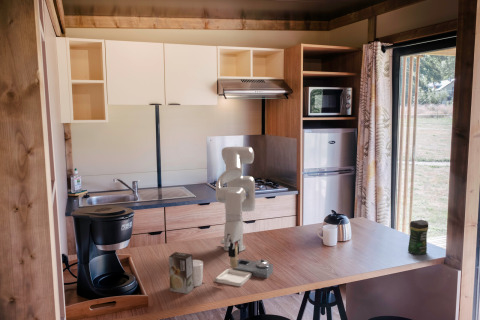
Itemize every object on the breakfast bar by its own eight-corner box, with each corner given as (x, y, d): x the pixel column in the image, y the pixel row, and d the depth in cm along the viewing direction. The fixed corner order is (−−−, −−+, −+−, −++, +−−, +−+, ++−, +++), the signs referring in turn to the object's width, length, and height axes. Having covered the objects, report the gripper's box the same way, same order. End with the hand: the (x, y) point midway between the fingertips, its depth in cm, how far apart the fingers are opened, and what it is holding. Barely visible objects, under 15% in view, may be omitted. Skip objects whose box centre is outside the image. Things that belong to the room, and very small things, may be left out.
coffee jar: (416, 256, 222) (418, 223, 220) (405, 251, 229) (407, 219, 227) (429, 253, 226) (431, 221, 224) (417, 249, 233) (419, 217, 231)
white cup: (186, 280, 191) (186, 260, 190) (203, 279, 192) (203, 259, 191) (185, 287, 184) (185, 266, 182) (203, 286, 184) (203, 265, 183)
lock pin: (229, 267, 189) (228, 242, 187) (232, 265, 192) (232, 240, 190) (235, 268, 187) (235, 243, 186) (238, 266, 190) (238, 241, 189)
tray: (215, 283, 188) (215, 278, 187) (227, 273, 199) (227, 268, 199) (240, 288, 182) (240, 283, 182) (252, 277, 194) (252, 272, 194)
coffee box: (194, 288, 183) (193, 254, 181) (187, 294, 177) (186, 259, 175) (176, 285, 186) (175, 251, 184) (169, 291, 180) (168, 256, 178)
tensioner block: (232, 273, 199) (232, 258, 198) (239, 267, 206) (239, 252, 205) (267, 280, 191) (267, 264, 190) (273, 274, 198) (273, 258, 197)
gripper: (234, 212, 196) (234, 249, 198) (217, 220, 181) (218, 260, 183) (248, 213, 193) (248, 251, 195) (233, 222, 178) (233, 262, 180)
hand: (233, 255), depth 189 cm, fingers closed on lock pin, 3 cm apart
